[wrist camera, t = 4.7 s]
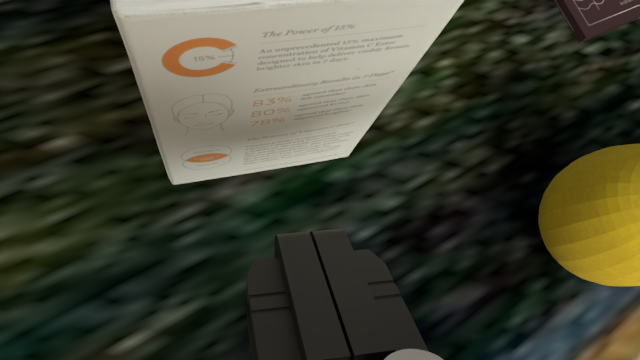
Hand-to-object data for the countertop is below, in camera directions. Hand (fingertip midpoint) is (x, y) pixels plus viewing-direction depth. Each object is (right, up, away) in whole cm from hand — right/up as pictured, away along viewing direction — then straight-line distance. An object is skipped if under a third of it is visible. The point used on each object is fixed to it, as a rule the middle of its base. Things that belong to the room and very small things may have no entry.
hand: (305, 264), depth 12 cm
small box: (-3, +5, +12) cm, 14 cm away
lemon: (+12, -1, +14) cm, 18 cm away
